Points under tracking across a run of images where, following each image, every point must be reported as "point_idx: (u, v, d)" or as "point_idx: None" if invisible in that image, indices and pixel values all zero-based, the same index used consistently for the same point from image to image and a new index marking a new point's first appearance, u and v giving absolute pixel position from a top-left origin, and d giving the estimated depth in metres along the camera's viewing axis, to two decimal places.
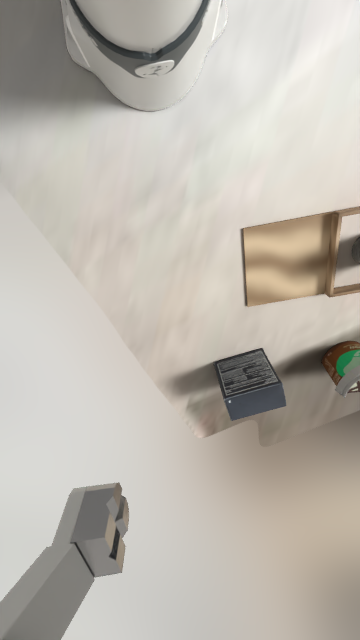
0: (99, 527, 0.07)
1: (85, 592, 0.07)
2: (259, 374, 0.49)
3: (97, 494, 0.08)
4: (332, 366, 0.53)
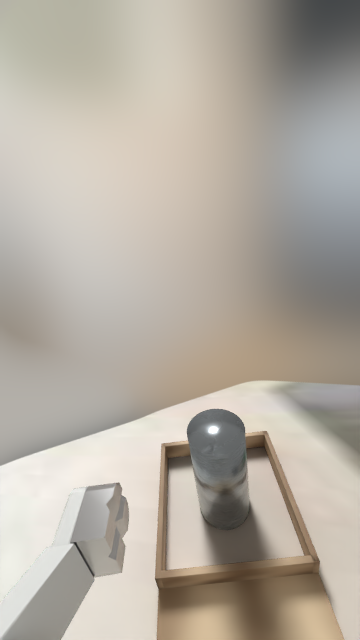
0: (99, 527, 0.07)
1: (85, 592, 0.07)
2: None
3: (97, 494, 0.08)
4: None
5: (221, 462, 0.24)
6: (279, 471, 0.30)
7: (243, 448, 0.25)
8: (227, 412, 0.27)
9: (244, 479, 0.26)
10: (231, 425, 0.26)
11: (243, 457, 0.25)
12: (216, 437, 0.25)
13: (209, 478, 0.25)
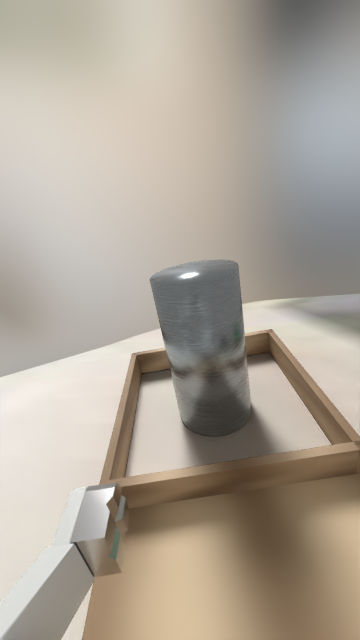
0: (99, 527, 0.07)
1: (85, 592, 0.07)
2: None
3: (98, 494, 0.08)
4: None
5: (200, 301, 0.15)
6: (292, 361, 0.21)
7: (236, 288, 0.16)
8: (212, 260, 0.18)
9: (240, 349, 0.17)
10: (217, 265, 0.17)
11: (237, 305, 0.16)
12: (193, 274, 0.16)
13: (185, 339, 0.16)
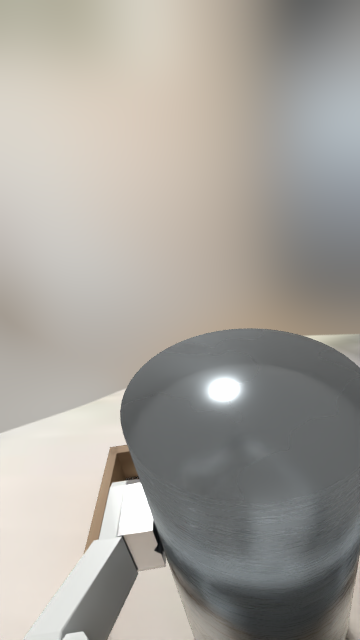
0: (145, 520, 0.07)
1: (130, 586, 0.07)
2: None
3: (138, 488, 0.08)
4: None
5: (283, 542, 0.04)
6: None
7: None
8: (270, 333, 0.08)
9: None
10: (298, 365, 0.06)
11: None
12: (242, 408, 0.06)
13: (218, 599, 0.05)
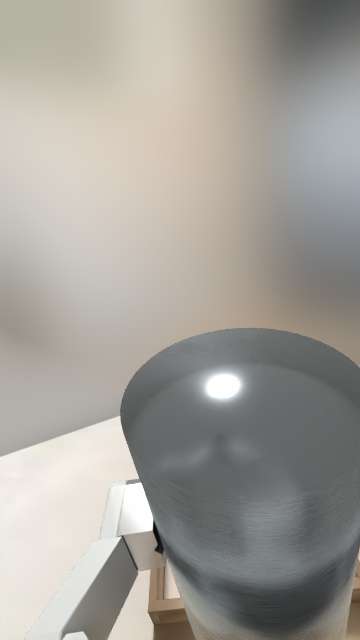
0: (145, 520, 0.07)
1: (130, 586, 0.07)
2: None
3: (138, 488, 0.08)
4: None
5: (282, 540, 0.04)
6: None
7: None
8: (270, 332, 0.08)
9: None
10: (297, 364, 0.07)
11: None
12: (242, 406, 0.06)
13: (218, 597, 0.05)
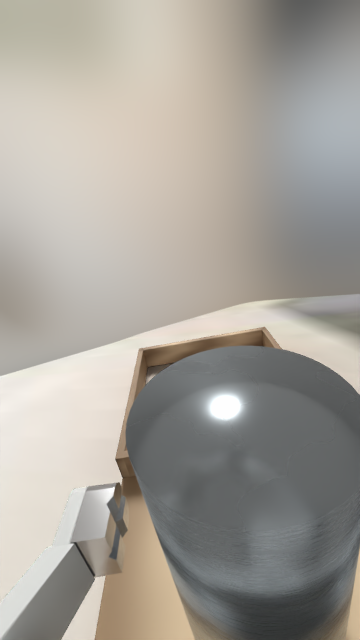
0: (99, 527, 0.07)
1: (85, 592, 0.07)
2: None
3: (98, 494, 0.08)
4: None
5: (282, 565, 0.04)
6: None
7: None
8: (270, 351, 0.08)
9: None
10: (296, 386, 0.07)
11: None
12: (243, 432, 0.06)
13: (220, 615, 0.06)
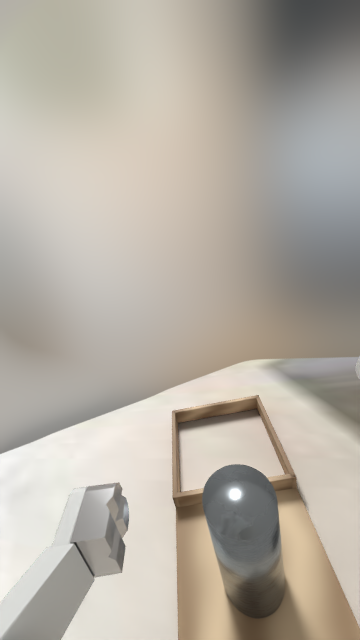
0: (99, 527, 0.07)
1: (85, 592, 0.07)
2: None
3: (97, 494, 0.08)
4: None
5: (250, 548, 0.18)
6: (267, 422, 0.37)
7: (277, 524, 0.19)
8: (251, 469, 0.22)
9: (279, 558, 0.20)
10: (258, 490, 0.20)
11: (277, 534, 0.19)
12: (240, 509, 0.19)
13: (235, 564, 0.19)
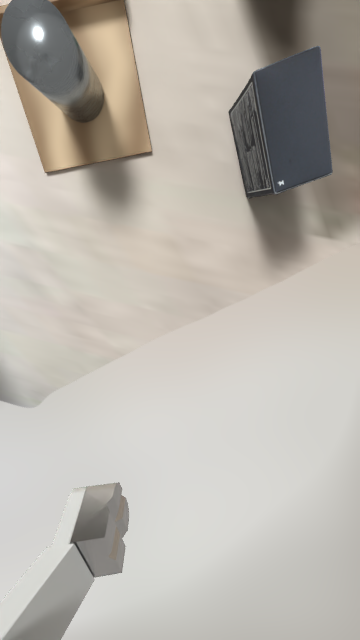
0: (99, 527, 0.07)
1: (85, 592, 0.07)
2: (249, 121, 0.28)
3: (97, 494, 0.08)
4: None
5: (55, 89, 0.23)
6: None
7: (75, 67, 0.23)
8: (46, 3, 0.21)
9: (88, 88, 0.27)
10: (55, 33, 0.21)
11: (78, 74, 0.24)
12: (40, 56, 0.22)
13: (50, 98, 0.25)
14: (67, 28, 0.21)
